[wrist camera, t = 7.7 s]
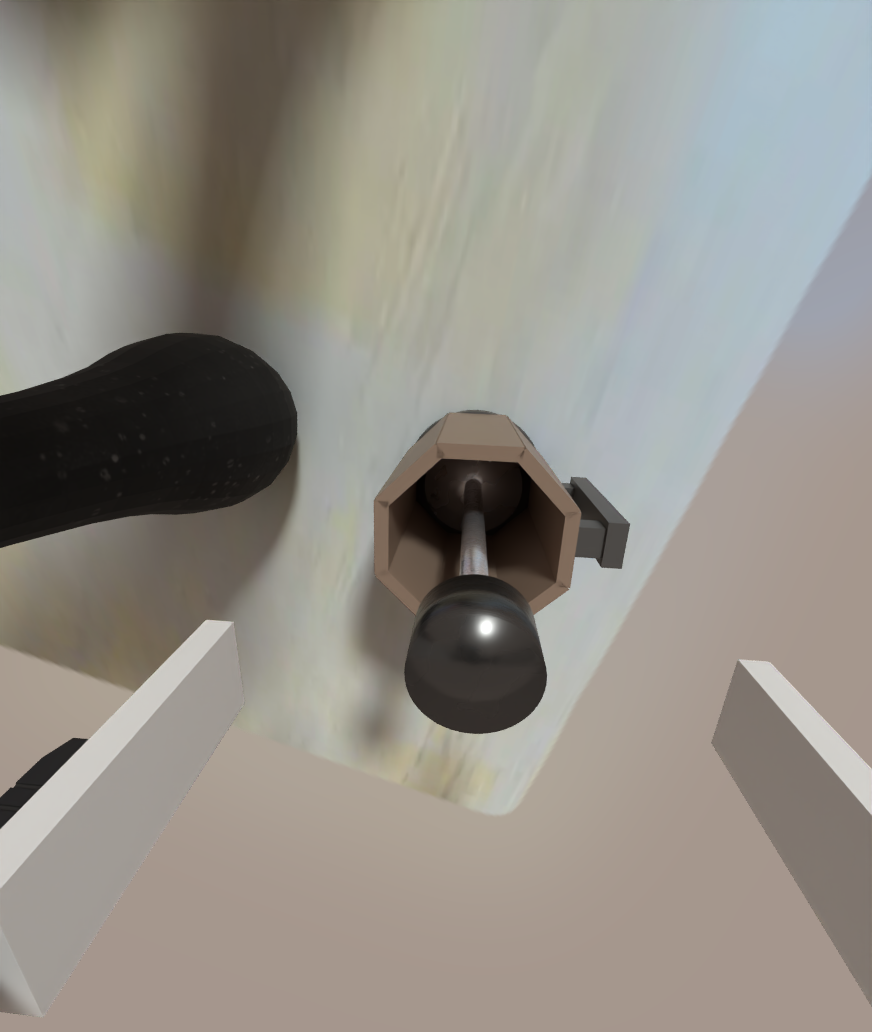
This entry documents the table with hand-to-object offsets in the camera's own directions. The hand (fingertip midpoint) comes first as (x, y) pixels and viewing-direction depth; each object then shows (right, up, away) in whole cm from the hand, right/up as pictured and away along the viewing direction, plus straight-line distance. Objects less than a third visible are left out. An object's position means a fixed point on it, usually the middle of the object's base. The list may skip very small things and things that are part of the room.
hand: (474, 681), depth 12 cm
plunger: (+2, +7, +20) cm, 22 cm away
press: (+3, +7, +22) cm, 23 cm away
